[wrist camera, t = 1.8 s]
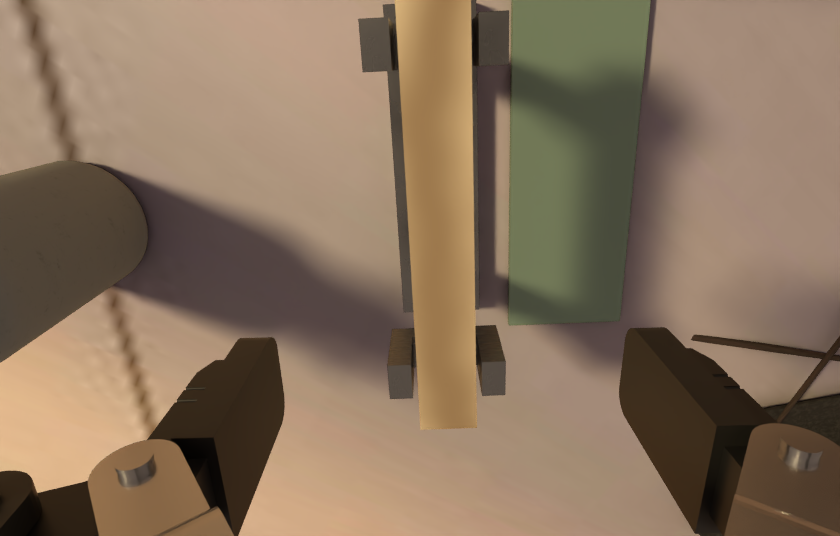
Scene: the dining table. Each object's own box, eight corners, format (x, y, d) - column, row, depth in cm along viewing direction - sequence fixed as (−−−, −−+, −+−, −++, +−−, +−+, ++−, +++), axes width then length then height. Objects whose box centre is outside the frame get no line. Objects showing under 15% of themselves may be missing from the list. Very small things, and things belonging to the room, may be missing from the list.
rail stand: (474, 1, 35) (509, -48, 20) (477, 301, 43) (504, 426, 28) (384, 7, 35) (353, -39, 20) (404, 304, 43) (392, 430, 28)
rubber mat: (651, -43, 34) (654, -45, 33) (617, 317, 43) (619, 321, 43) (511, -35, 34) (513, -36, 34) (507, 322, 43) (509, 325, 43)
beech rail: (465, -32, 23) (470, -46, 20) (472, 394, 31) (476, 427, 28) (396, -28, 23) (392, -41, 20) (421, 396, 31) (420, 429, 28)
